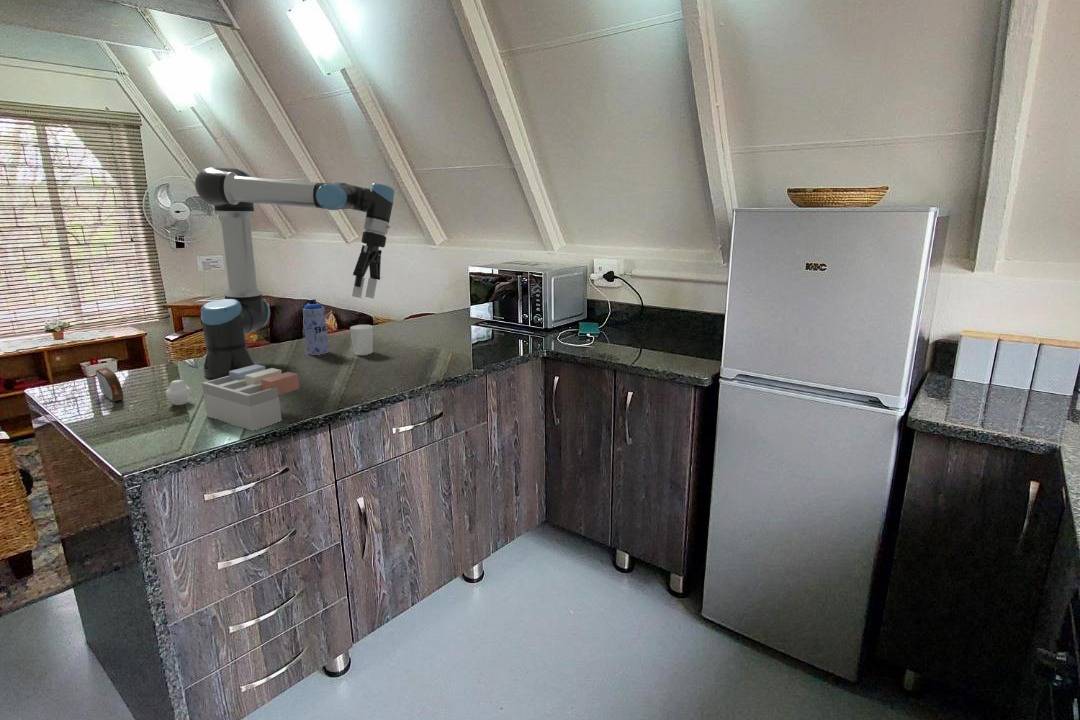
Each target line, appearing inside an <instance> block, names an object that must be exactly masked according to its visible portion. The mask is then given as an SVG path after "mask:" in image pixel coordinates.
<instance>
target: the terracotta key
mask: <svg viewBox="0 0 1080 720" xmlns="http://www.w3.org/2000/svg"><path fill="white" fill-rule="evenodd" d="M261 383H262V391H263V390H267V389H270V388H274V387H278V395H279V396H280V395H283V394H287V393H289V392H293V391H297V390H299V389H300V388H301V387H300V380H299V373H295V372H289V371H287V372H282V374H279V375H275V376H272V377H268V378H264V379H261Z"/></svg>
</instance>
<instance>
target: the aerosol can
mask: <svg viewBox="0 0 1080 720" xmlns="http://www.w3.org/2000/svg"><path fill="white" fill-rule="evenodd" d="M325 311H326V310H325V308H324V306H323V305H322V304H321V303H319V302H317V300H316V298H315V299H309V302H308V303H306V305H304V307H302V316H303V325H304V335H305V343H306V344H305V345H306V355H307V354H315V355H318V354H324V353H327V352H329V353H330V350H329V340H328V332H327V330H328V329H327V320H326V319H327V318H326V312H325ZM324 355H325V354H324ZM318 356H319V355H318Z"/></svg>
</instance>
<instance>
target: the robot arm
mask: <svg viewBox="0 0 1080 720" xmlns="http://www.w3.org/2000/svg"><path fill="white" fill-rule="evenodd" d="M194 187H195V190H196V193H197V195H198V196H199V197H200V199H202V200H203V202H205V203H207V204H209V205H211V206H213V207H214V213H216V214H217V215H218V216H219V217H220V223H221V230H222V240H223V247H224V249H223V250H224V257H225V266H226V274H227V276H226V277H227V283H228V290H227V291H226V292H225V293H224V299H223V298H222V299H217V300H212V301H209V302H207V303H205V304H203V305H202V306H201V309H200V320H201V324H202V331H203V336H204V342H205V350H206V355H205V360H204V364H203V375H204V377H205V378H208V379H211V380H215V379H218V378H222V377H226V376H230V375H229V371H232V370H236V369H240V368H244V367H248V366H252V365H256V364H255V361H254V359H253V357H252V355H251V353H250V351H249V350H248V346H247V340H246V335H247V334H250V333H253V332H256V331H259V330H260V329H262V328H263V327H264V326H266V325H267V324H268V322H269V320H270V317H271V309H270V306H269V303H268V302H266V300H265V299H264V297H263V292H262V291H261V290H260V289H259V288H258V286H257V275H256V265H255V257H254V256H255V255H254V247H253V246H254V245H253V237H252V235H253V234H252V227H251V216H252V215H253V214H254V213H255V208H254V207H255V206H254V204H264V205H265V204H266V205H274V206H275V205H276V206H287V207H288V206H289V207H298V208H299V207H302V208H315V209H321V210H322V209H323V210H329V211H338V210H352V211H359V212H363V213H365V218H364V223H363V230H364V231H363V232H362V236H361V240H360V241H361V243H362V244H366V245H361V249H360V253H359V256H358V258H357V261H356V263H355V264H356V265H355V267H354V269H353V272H352V276H355V279H354V282H353V283H354V284H353V289H352V295H351V296H352V298H353V297H354V298H359V299H362V295H363V290H364V285H365V279H366V277H365V276H366V274H367V271H368V268H369V277H368V282H367V285H366V291H365V298H369V299H374V298H375V293H376V289H377V283H378V281H380V280H381V264H382V263H381V260H382V250H381V249H379V248H385V247H386V244H387V243H386V242H387V236H386V235H388V231H389V229H390V228H391V226H390V222H391V221H390V220H391V215H392V211H393V206H394V198H395V197H394V196H395V190H394V188H392V187H391V186H389V185H385V184H382V183H377V182H376V183H375V182H373V183H372V184H371V186H370V188H367V187H361V186H357V185H353V184H349V183H347V182H338V181H337V182H336V181H335V182H333V183H331V182H330V183H329V182H327V183H326V182H314V181H304V180H303V181H302V180H291V179H281V178H279V179H276V178H268V177H267V178H263V177H256V176H255V177H253V176H251V174H249V173H248V172H246V171H245V170H241V169H238V168H229V167H228V168H225V167H215V166H214V167H212V166H211V167H207V168H204V169H202V170H200V172H198V174H197V176H196V177H195V181H194Z"/></svg>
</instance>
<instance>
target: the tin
mask: <svg viewBox="0 0 1080 720" xmlns="http://www.w3.org/2000/svg"><path fill="white" fill-rule="evenodd" d="M95 375H96V378H97V380H98V381H97V382H98V385H99V388H100V391H101V393H102V395H103V396H104V397H105V398H107V399H108V401H110V402H111V401H112V403H115V402H118V401H124V392H123V391H124V390H123V388H122V385H121V381H120V380H119V378H118V376H117V374H116V373H115V372H114V371H113V370H111V368H108V367H104V368H103V367H102V368H99V369H96V371H95Z"/></svg>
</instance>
